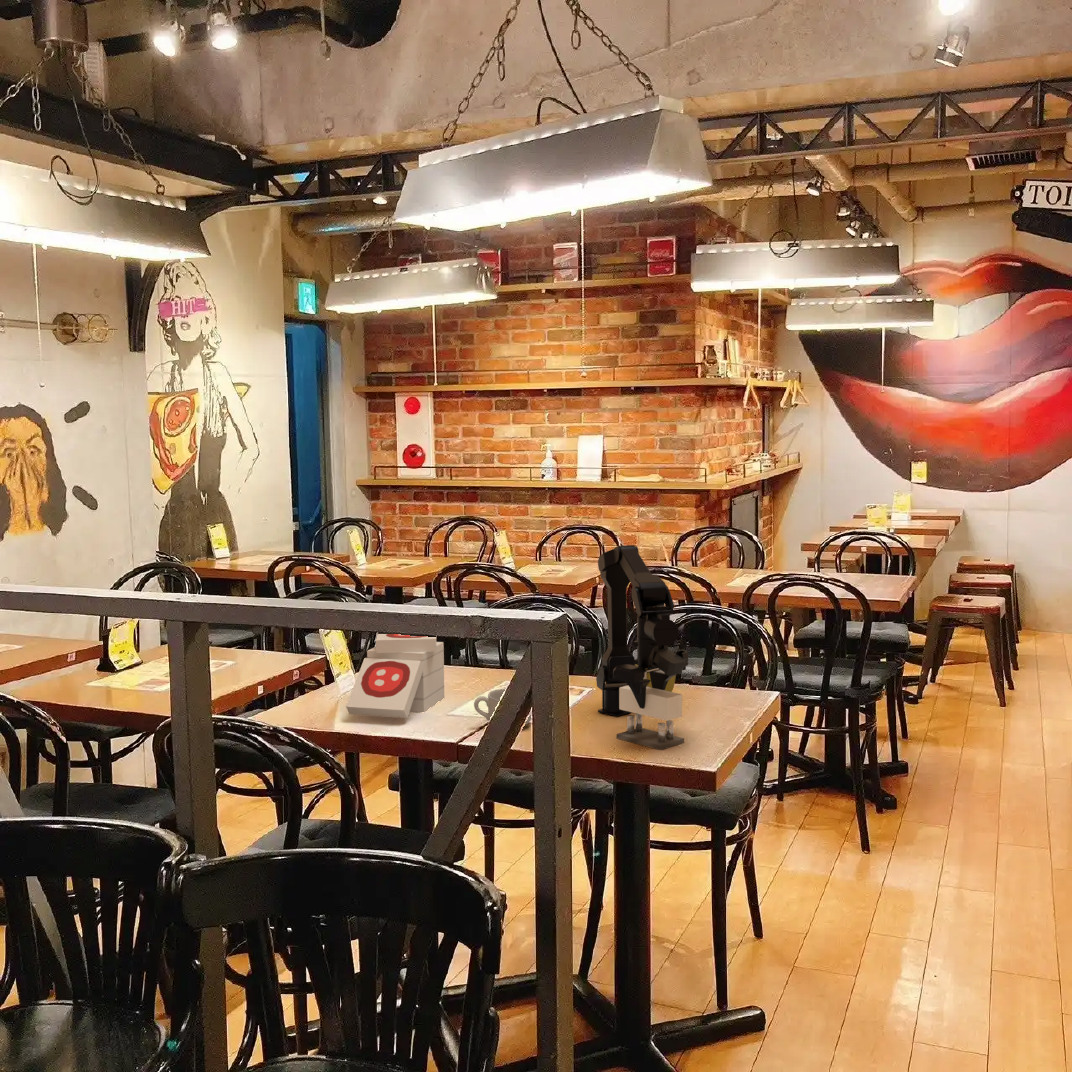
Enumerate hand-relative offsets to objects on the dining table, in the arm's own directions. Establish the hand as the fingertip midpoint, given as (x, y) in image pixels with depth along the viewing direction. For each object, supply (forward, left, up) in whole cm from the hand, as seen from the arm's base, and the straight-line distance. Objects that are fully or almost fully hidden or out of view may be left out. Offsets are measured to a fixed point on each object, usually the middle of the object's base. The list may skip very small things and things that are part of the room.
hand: (649, 706), depth 252 cm
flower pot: (-24, +30, -8) cm, 39 cm away
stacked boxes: (-63, -22, -8) cm, 67 cm away
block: (0, 0, -2) cm, 2 cm away
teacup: (-32, -15, -8) cm, 36 cm away
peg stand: (0, 0, -8) cm, 8 cm away
